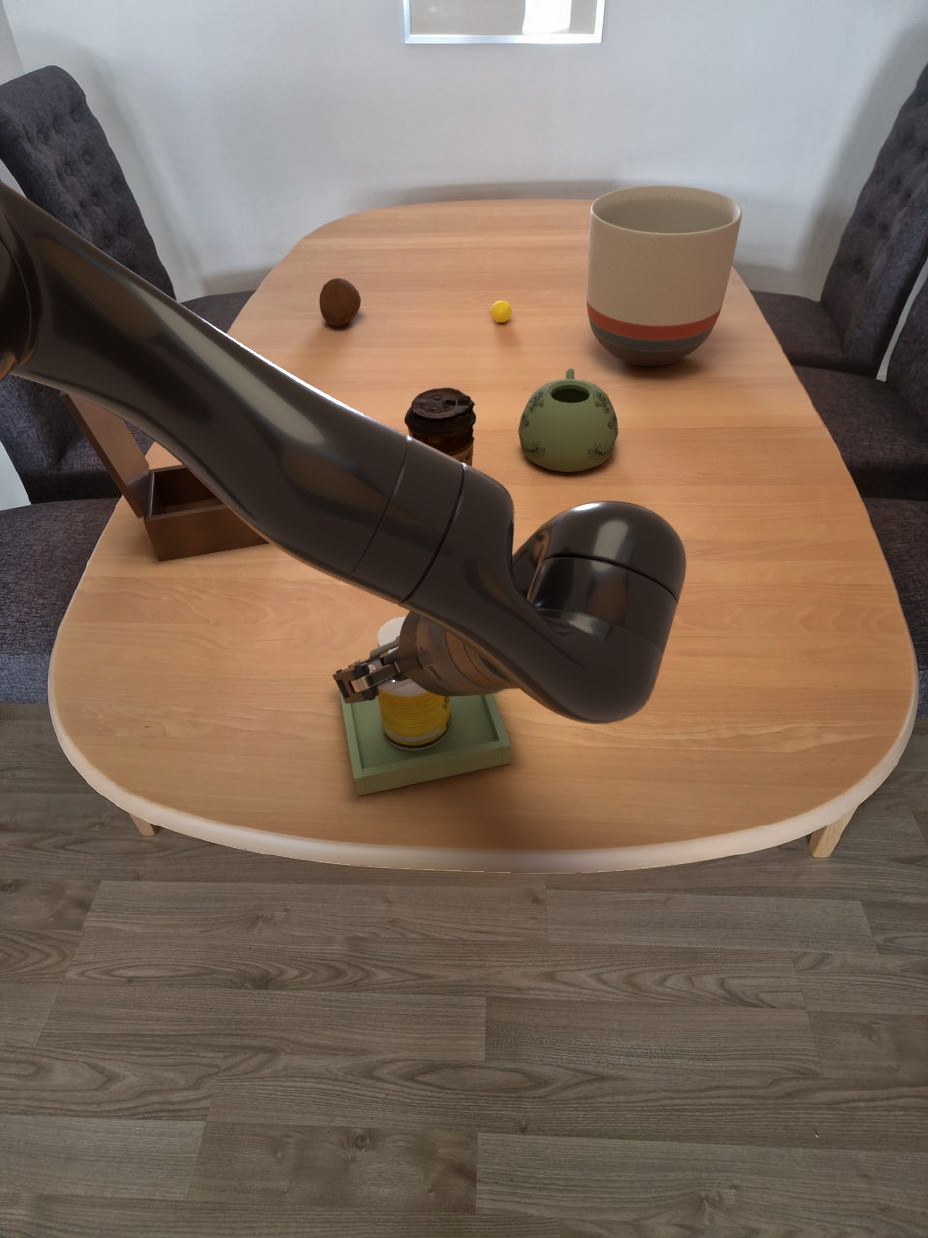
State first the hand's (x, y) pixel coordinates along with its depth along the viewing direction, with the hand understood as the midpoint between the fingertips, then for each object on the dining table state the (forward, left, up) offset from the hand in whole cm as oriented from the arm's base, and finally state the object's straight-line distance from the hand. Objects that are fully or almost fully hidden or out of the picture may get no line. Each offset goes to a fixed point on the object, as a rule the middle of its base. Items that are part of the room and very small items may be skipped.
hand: (400, 655), depth 69 cm
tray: (+1, -1, -9) cm, 9 cm away
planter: (+49, +62, -9) cm, 79 cm away
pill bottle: (+1, -1, -8) cm, 8 cm away
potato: (+5, +90, -9) cm, 90 cm away
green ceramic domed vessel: (+29, +41, -9) cm, 51 cm away
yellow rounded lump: (+31, +82, -9) cm, 88 cm away
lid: (-25, +36, +5) cm, 44 cm away
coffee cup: (+11, +34, -9) cm, 36 cm away
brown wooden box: (-16, +36, -9) cm, 40 cm away
